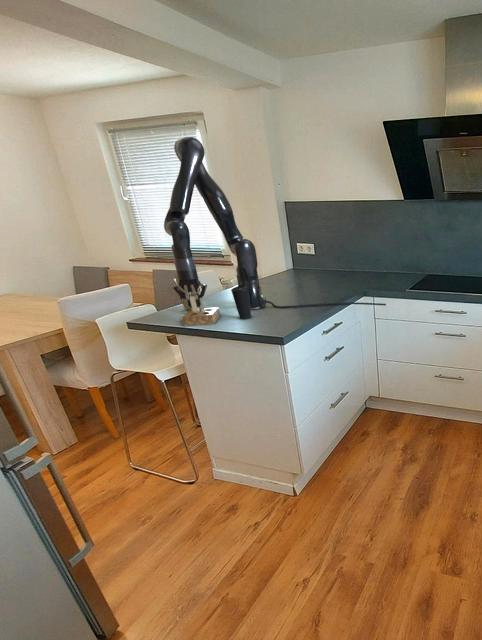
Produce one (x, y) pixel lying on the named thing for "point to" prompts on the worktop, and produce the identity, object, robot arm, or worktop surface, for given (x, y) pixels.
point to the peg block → (201, 316)
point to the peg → (194, 304)
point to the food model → (190, 294)
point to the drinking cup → (242, 300)
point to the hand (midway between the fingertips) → (195, 307)
